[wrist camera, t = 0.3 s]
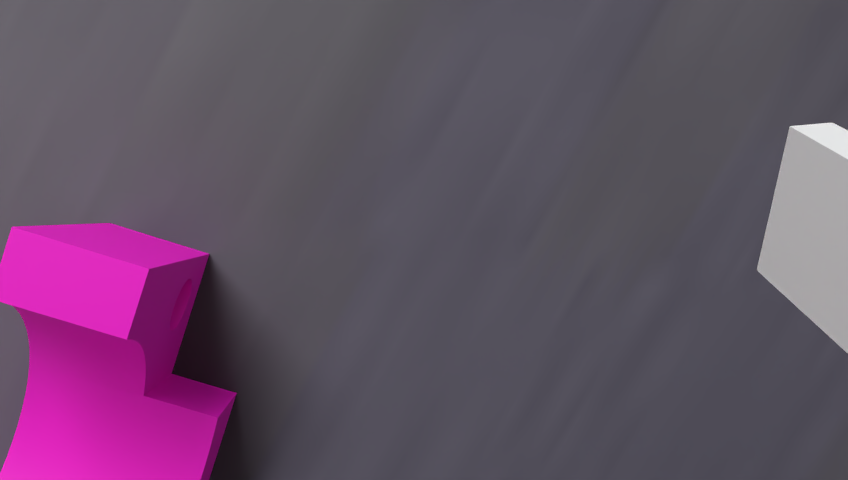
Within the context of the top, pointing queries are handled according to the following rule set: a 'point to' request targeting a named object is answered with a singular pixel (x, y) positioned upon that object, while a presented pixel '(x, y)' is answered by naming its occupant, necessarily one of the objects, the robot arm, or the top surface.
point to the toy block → (108, 357)
